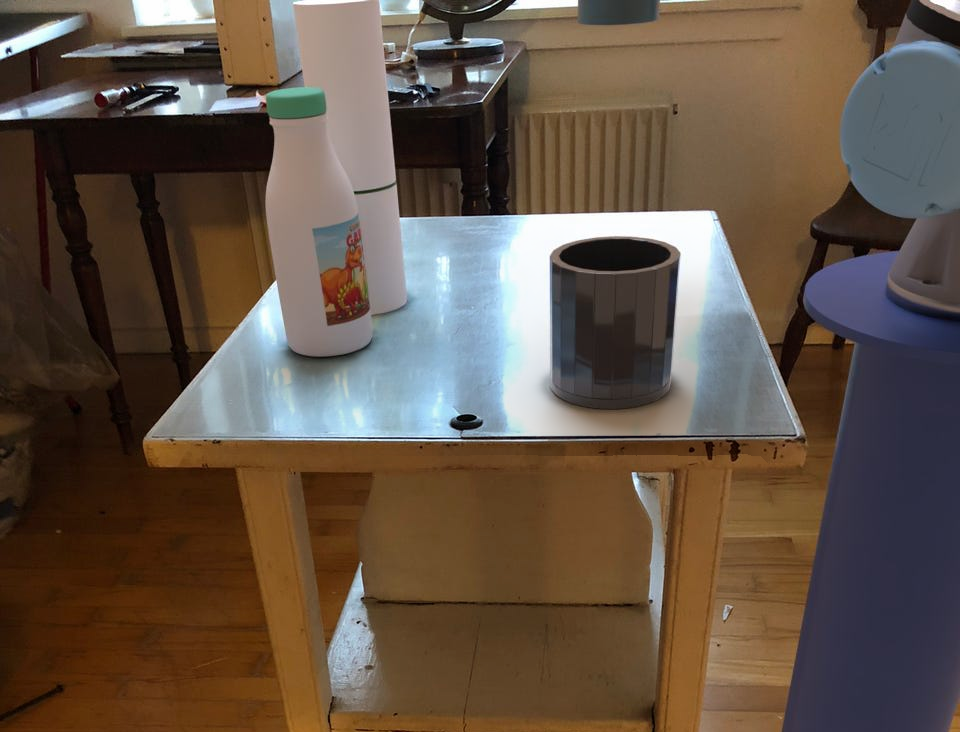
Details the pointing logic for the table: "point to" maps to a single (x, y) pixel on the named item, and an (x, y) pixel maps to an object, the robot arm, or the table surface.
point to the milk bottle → (314, 231)
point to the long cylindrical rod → (617, 12)
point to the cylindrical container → (358, 128)
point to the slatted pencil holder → (613, 320)
